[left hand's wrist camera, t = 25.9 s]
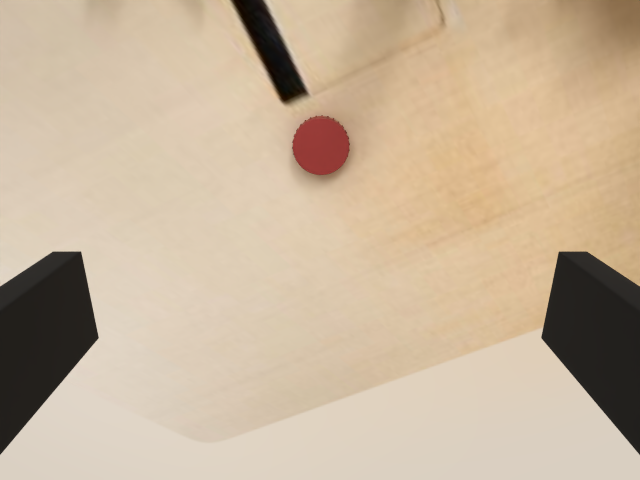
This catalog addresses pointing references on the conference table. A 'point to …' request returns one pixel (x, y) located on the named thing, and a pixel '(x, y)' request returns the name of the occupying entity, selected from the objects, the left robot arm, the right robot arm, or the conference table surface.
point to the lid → (321, 145)
